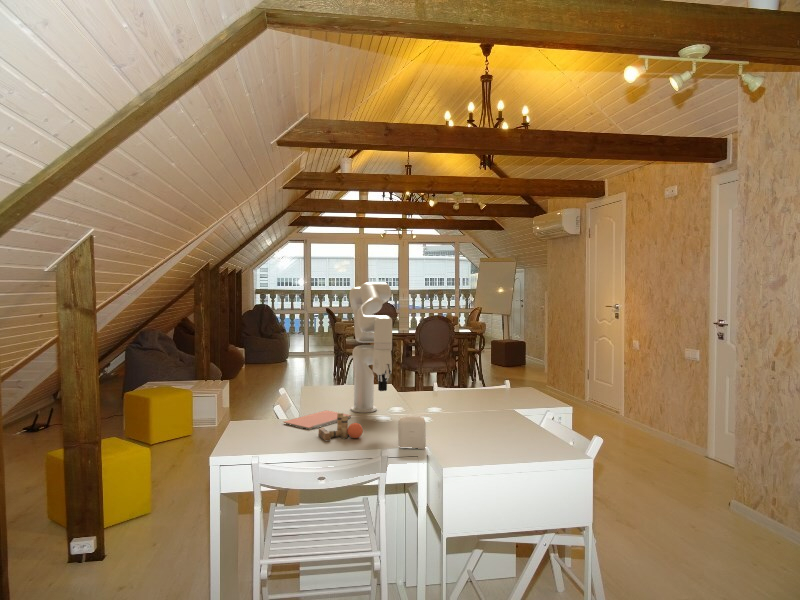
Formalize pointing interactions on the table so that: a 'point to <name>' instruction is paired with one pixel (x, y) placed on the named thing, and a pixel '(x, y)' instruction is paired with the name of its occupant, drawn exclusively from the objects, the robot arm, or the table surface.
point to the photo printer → (412, 432)
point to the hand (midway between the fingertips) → (382, 390)
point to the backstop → (324, 433)
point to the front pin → (335, 433)
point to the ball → (355, 430)
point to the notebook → (315, 419)
